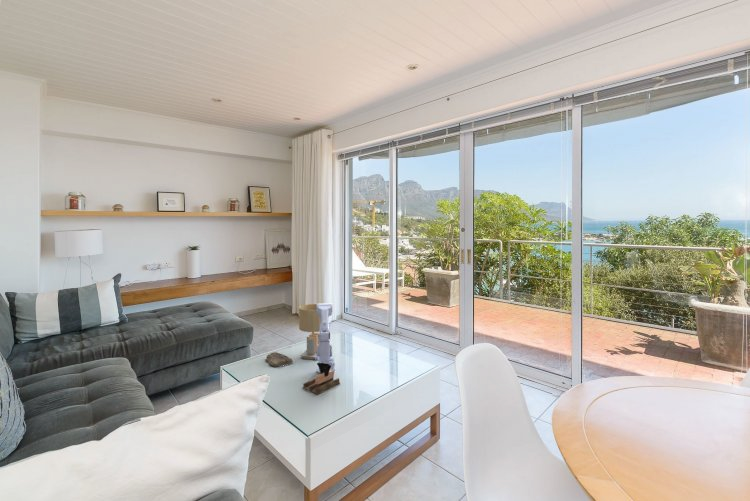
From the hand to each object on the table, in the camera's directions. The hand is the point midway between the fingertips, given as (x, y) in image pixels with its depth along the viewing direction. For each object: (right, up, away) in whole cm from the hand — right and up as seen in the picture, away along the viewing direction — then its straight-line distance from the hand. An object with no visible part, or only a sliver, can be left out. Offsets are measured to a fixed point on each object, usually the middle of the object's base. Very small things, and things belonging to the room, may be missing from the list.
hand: (324, 375), depth 201 cm
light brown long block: (0, -3, 0) cm, 3 cm away
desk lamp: (-15, -4, +49) cm, 51 cm away
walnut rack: (-2, -7, +2) cm, 8 cm away
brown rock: (-38, -5, +38) cm, 54 cm away
